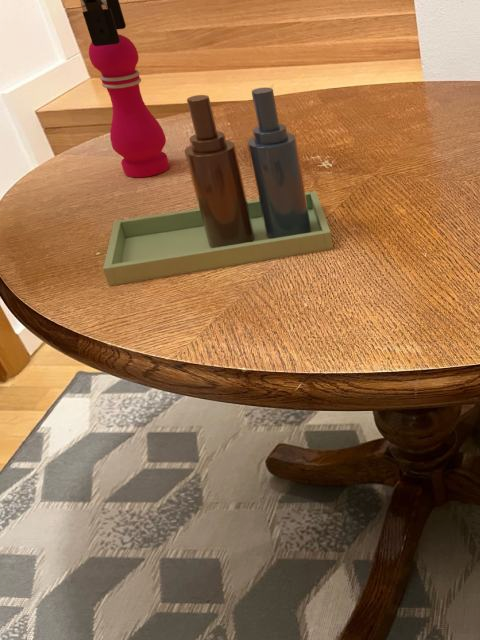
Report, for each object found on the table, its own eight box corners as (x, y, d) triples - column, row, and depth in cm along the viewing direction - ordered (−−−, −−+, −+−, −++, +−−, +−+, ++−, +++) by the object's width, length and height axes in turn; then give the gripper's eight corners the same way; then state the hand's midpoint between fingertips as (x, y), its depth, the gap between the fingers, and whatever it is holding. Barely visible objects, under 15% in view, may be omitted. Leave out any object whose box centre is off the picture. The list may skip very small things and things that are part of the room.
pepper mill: (122, 182, 102) (74, 29, 91) (119, 166, 108) (73, 20, 96) (175, 173, 104) (135, 22, 93) (170, 157, 110) (131, 14, 99)
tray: (110, 289, 77) (102, 268, 75) (120, 239, 87) (113, 220, 85) (333, 252, 82) (330, 232, 80) (319, 209, 92) (316, 190, 90)
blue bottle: (268, 244, 83) (237, 99, 74) (264, 226, 87) (235, 87, 78) (313, 237, 84) (289, 93, 75) (308, 219, 88) (284, 81, 79)
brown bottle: (208, 254, 81) (170, 107, 72) (208, 235, 86) (172, 94, 76) (256, 246, 83) (224, 101, 73) (253, 228, 87) (223, 88, 78)
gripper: (41, -118, 92) (88, 27, 102) (14, -112, 78) (71, 54, 88) (104, -122, 94) (144, 21, 104) (89, -117, 80) (136, 47, 90)
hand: (110, 36), depth 96 cm, fingers open, 9 cm apart
